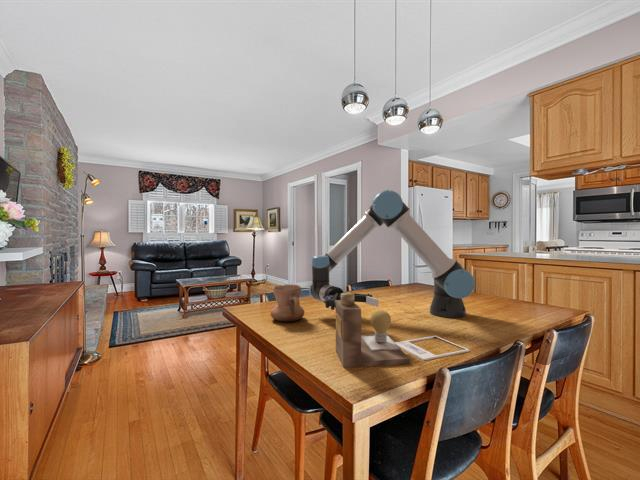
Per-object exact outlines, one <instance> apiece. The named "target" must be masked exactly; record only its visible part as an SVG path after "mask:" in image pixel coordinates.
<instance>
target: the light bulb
mask: <svg viewBox="0 0 640 480" xmlns="http://www.w3.org/2000/svg"><path fill="white" fill-rule="evenodd" d="M391 323H392V317H391V315H390V313H388V312H387V311H385V310H383V309H381V310H375V311H374V312H372V313H371V316H370V324H371V326H372V328H373V329H374V330H375V331H374V334H375V341H376V342H378V343H384V342H386V340H387V330H388V329H389V328H390V326H391Z"/></svg>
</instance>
